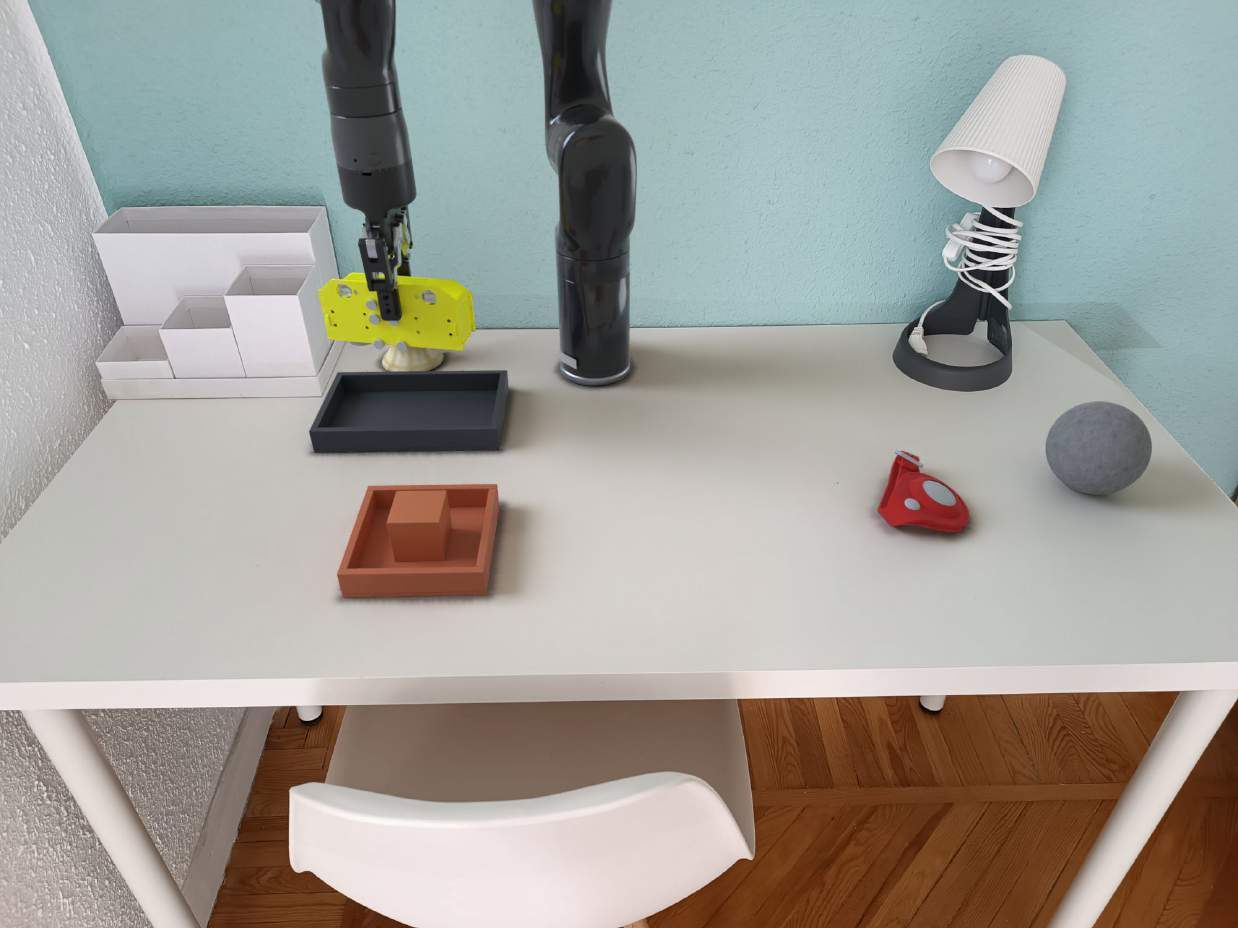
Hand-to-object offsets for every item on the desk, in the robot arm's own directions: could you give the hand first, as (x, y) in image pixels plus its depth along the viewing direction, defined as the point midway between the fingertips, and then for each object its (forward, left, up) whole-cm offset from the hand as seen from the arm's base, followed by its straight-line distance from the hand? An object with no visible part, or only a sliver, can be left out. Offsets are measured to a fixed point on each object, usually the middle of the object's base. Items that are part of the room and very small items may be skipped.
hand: (398, 305), depth 99 cm
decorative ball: (+15, +76, -16) cm, 79 cm away
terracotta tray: (+24, +5, -15) cm, 29 cm away
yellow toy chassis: (0, 0, -5) cm, 5 cm away
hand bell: (-15, -3, -16) cm, 22 cm away
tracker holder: (+18, +57, -16) cm, 62 cm away
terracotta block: (+24, +5, -15) cm, 29 cm away
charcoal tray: (0, 0, -15) cm, 15 cm away
